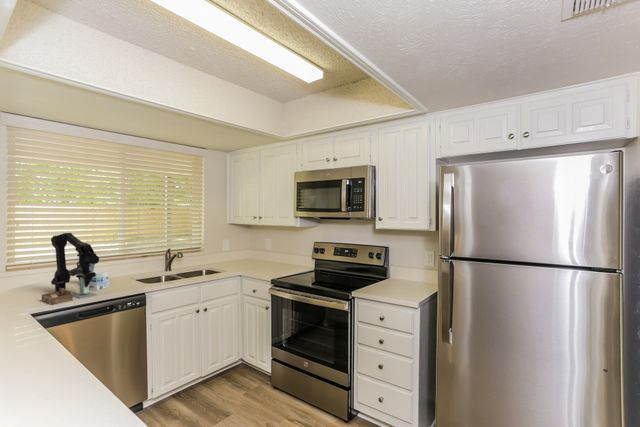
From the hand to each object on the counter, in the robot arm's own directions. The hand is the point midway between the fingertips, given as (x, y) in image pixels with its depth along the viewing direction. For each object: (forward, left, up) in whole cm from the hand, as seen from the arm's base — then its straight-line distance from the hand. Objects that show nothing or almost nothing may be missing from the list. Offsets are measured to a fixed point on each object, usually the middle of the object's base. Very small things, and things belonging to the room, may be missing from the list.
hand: (84, 286), depth 217 cm
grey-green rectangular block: (0, 0, -4) cm, 4 cm away
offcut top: (0, -17, -4) cm, 17 cm away
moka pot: (-36, +16, -6) cm, 40 cm away
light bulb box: (-13, +15, -6) cm, 21 cm away
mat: (0, 0, -6) cm, 6 cm away
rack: (0, -15, -6) cm, 16 cm away
